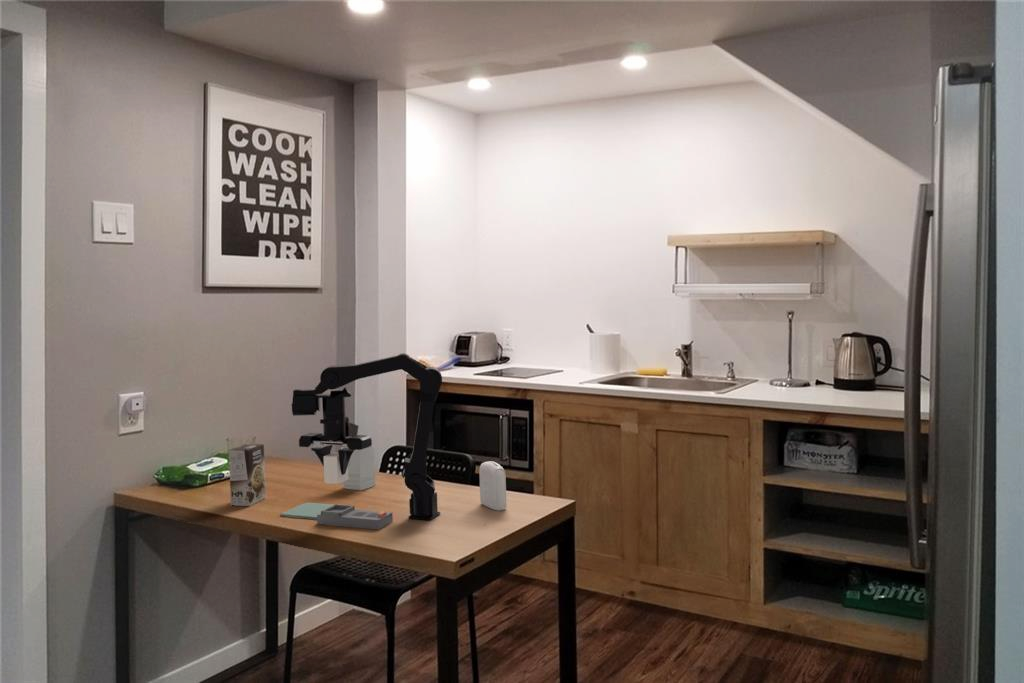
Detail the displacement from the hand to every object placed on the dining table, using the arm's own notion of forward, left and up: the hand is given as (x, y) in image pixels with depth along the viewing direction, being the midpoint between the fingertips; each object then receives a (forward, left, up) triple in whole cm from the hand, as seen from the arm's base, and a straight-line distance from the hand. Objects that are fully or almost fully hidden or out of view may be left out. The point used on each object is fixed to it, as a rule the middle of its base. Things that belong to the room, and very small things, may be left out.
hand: (336, 473), depth 209 cm
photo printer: (-34, -24, -13) cm, 44 cm away
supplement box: (+14, -34, -13) cm, 39 cm away
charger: (0, 0, -2) cm, 2 cm away
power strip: (-5, 0, -12) cm, 14 cm away
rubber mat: (+12, -6, -12) cm, 18 cm away
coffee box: (+36, -10, -13) cm, 39 cm away
